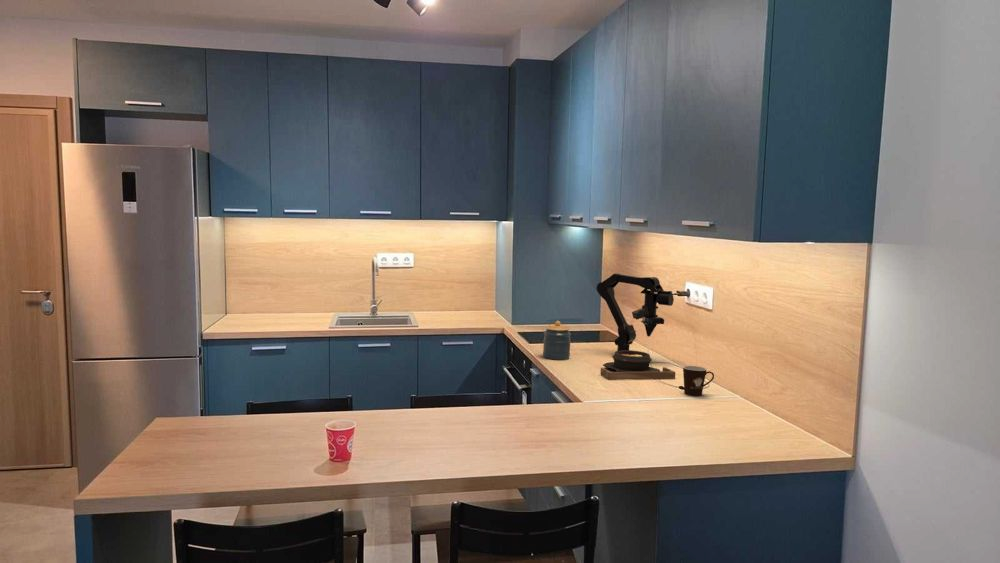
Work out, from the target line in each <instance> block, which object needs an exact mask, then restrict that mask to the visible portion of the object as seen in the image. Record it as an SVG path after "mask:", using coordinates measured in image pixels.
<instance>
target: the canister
mask: <svg viewBox="0 0 1000 563" xmlns="http://www.w3.org/2000/svg"><path fill="white" fill-rule="evenodd" d="M545 329H546V330H544V332H543V334H544V338H543V345H542V346H543V350H542V357H543V358H545V359H547V358H548V359H547V360H553V359H555V361H564V360H563V359H566V360H569V359H570V357H571V341H572V339H571V335H572V333H571V332H570V327H568V326H567V325H565V324H561V321H560V320H556V321H555V322H554V323H553V324H548V325H547V326H546V327H545ZM568 358H569V359H568Z"/></svg>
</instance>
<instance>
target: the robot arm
mask: <svg viewBox="0 0 1000 563" xmlns="http://www.w3.org/2000/svg"><path fill="white" fill-rule="evenodd" d="M619 283H622V284H623V283H624V284H629V285H636V286H639V287H641V288H643V289H642V290H641V291H640V294H644V304H643V305H642V306H641V308H639V309H636V310H633V311H631V313H632V318H633V319H635V320H640V323H642V324H643V325H644V327H645V333H646V337H651V335H652V334H653V332H654V330H655V328H656V327H657V326H658V325H665V319H664V318H663V317H661V316H659V315H658V314H657V309H659V306H668V307H671V306H673V305H674V302H675V299H674V295H673V291H671V290H668V291H666V290H665V289H664V288H663V287H662V285H661V284H660V283H661V282H660V279H659V278H658V277H656V276H646V277H645V276H643V277H641V276H635V275H628V274H622V273H619V272H617V273H612V275H610V276H609V277H607V278H606V279H604V280H603V281H601V282H599V283H597V285H596V292H597V294H598V295H599V296H600V297H601V298H602V299H603V300H604V301H605V302H606V305H607V307H608V309H609V311H610V314H611V315H612V318H613V320H614V322H615V324H616V326H617V334H618V337H617V338H615V340H614V341H613V342H614V345H615V346H617V348H616V351H620V350H630V345H632V344H633V343H634V341H635V340H636V338H637V334H636V333H637V331H636V330H635V328H634V324H629V323H628V322H627V320H626V318H625V317H624V314H623V312H622V310H621V308H620V306H619V303H618V302H617V300H616V296H615V288H616V287H617V285H619ZM657 304H658V305H659V306H657Z"/></svg>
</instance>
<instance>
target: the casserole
mask: <svg viewBox="0 0 1000 563" xmlns="http://www.w3.org/2000/svg"><path fill="white" fill-rule="evenodd" d="M611 358H612V359H613V361H611V362H610V361H609V362H606V363H603V368H604V367H605V368H608V369H610V370H614V371H616V372H655V371H661V370H660V369H659V368H655V367H652V366H650V363H651V362H652V360H653V359H652V357H651V355H650V354H649V353H647V352H644V351H639V350H630V349H629V350H620V351H617V350H616V351H614V353H613V355H612V356H611Z"/></svg>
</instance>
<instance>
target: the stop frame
mask: <svg viewBox="0 0 1000 563" xmlns="http://www.w3.org/2000/svg"><path fill="white" fill-rule="evenodd" d="M600 374H601V376H602V377H603V376H604V377H603V378H605V379H606V378H607V379H606V380H608V381H617V380H616V379H633V380H634V379H635V380H676V371H674V370H672V369H670V368H668V367H666V366H663V367H662V371H661V370H660V371H655V372H618V371H610V370H608V369H606V367H605V368H604V367H600ZM600 374H599V375H600ZM613 379H615V380H613ZM635 380H634V381H635Z"/></svg>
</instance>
